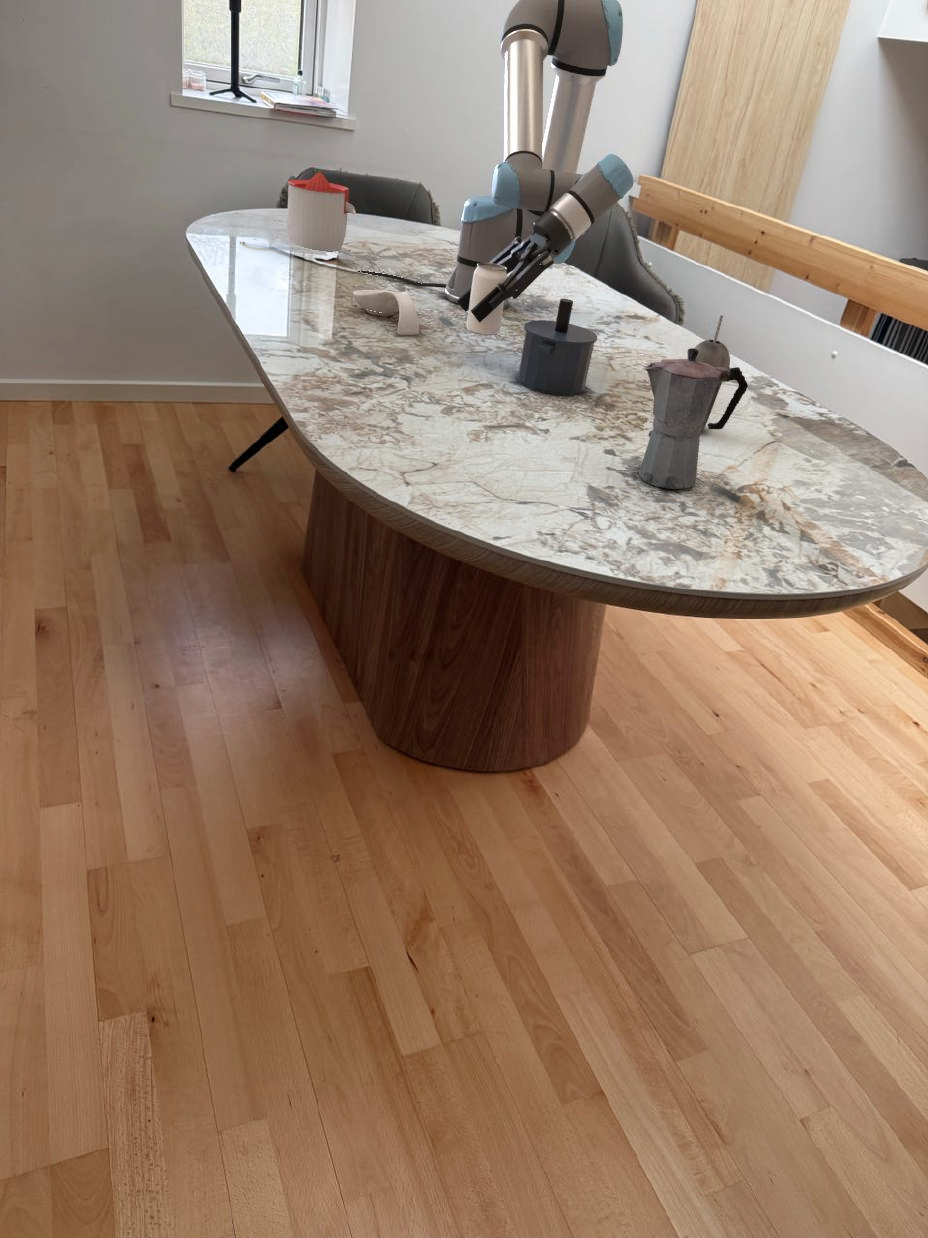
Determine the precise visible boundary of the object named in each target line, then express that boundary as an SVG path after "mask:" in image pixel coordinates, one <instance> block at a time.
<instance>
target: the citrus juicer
mask: <svg viewBox="0 0 928 1238" xmlns="http://www.w3.org/2000/svg"><path fill="white" fill-rule="evenodd" d="M287 184H288V191H287V192H288V193H287V219H286V221H287V233H288V239H289V242H290V241H292V242H293V243H294V244H296V245H299V246H301V247H304V248H308V249H312V250H319V251H327V252H333V251H339V250H341V251H342V248H343V245H344V242H345V238H346V234H347V233H346V232H347V227H348V213H350V214H353V215H356V213H357V212H356V209H355V206H354V205H353V204H351V203H350V202H349V200H350V195H349V194H350V188H348V187H347V186H344V185H340V184H337V183H333V182H329V181H328V180H327V178H326V176H325V175H324V174H323V173H322V172H320V171H319V172H317V173H316V174H314V175H313V176H312V178H310V179H290V180H287Z"/></svg>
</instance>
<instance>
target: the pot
mask: <svg viewBox="0 0 928 1238" xmlns="http://www.w3.org/2000/svg"><path fill="white" fill-rule="evenodd" d="M594 345H595V343H592V344H588V345H571V344H562V343H556V342H552V341H548V340H544V339H541V338H538V337H535V336H533V335H531V334H529V333H528V332H526V331H525V334H524V340H523V345H522V351H521V357H520V362H519V368H518V374H517V375H518V376H517V381H518V382H519V383H520V384H521V385H522V386H524V387H526V388H528V389H530V390H533V391H535V392H539V393H544V394H548V395H554V396H576V395H580V394H581V393H583V392H584V391H585V388H586V384H587V379H588V373H589V370H590V365H591V360H592V355H593V351H594V347H595V346H594Z"/></svg>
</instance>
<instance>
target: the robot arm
mask: <svg viewBox="0 0 928 1238" xmlns="http://www.w3.org/2000/svg"><path fill="white" fill-rule="evenodd" d="M623 33H624V16H623V9H622V6H621V3H620V2H619V1H618V0H518V1H517V2H516V3H515V4H514V6H513V7H512V8H511V10H510V11H509V13H508V15H507V17H506V19H505V21H504V23H503V27H502V30H501V35H500V56H501V58H502V60H503V61H504V63H505V64H504V65H505V66H504V127H503V128H504V131H503V132H504V133H503V134H504V136H503V138H504V139H503V142H504V143H503V162H499V163H497V164H496V166H495V168H494V171H493V177H492V183H491V184H492V185H491V195H478V196H472V197H470V198H468V199H467V200H466V201H465V203H464V205H463V210H462V215H461V218H460V222H461V223H460V224H461V225H460V231H459V232H460V234H459V240H458V247H457V255H456V263H455V266H454V268H453V271H452V272H451V274H450V276H449V279H448V282H447V283H437V282H420V281H416V282H415V280H412V279H410V278H406V277H403V278H401V277H402V276H400V277H397V276H398V275H396V276H393V275H394V274H391V275H388V274H389V273H386V274H382V273H383V272H380V273H375V272H376V271H373V272H369V271H370V270H367V271H361V272H363V273H368V274H372V275H371V276H375V275H378V276H377V277H381V276H383V278H386V279H387V278H388V279H393V280H398V281H401V282H404V283H406V284H409V285H413V286H418V287H423V288H441V289H442V288H443V289H445V290H444V297H445V299H447V300H448V301H450V302H452V303H455V304H458V305H459V306H460V307H461V308H462V310H463V311H464V313H465V312H468V311H469V303H470V296H471V289H472V281H473V275H474V271H475V270H476V268H477V264H478V263H493V264H498V265H502V266H504V267H506V268H507V270H506V273H507V276H508V278H507V279H506V280H505V281H504V283H498V286H499V288H500V289H501V290H500V289H499V288H498V287H496V288H494V289H493V290H492V291H491V292H490V293H489V294H488V295H487V296H486V297H485V298H484V299H483V300H481V301H480V302H479V303H478V304H477V305H476V306H475V307H474V308H473V309H472V310H471V312H472V314H473V315H474V316H475V318H476V319H477V320H478V322H481V321H482V320H483V319H484V318H485V317H487V316H488V315H489V314H490V313H491V312H492V311H493V310H494V309H495V308H496V307H497V306H498V305H500V304H501V303H502V302H503V301H504V306H503V309H504V308H506V307H507V306H508V302H509V301H508V300H509V299H511V298H512V299H513V300H516V299H517V298H519V297H520V296H521V294H522V293H523V292H524V291H525V290H526V289H527V288H528V287H529V286H530V285H532V284H533V282H535V281H536V279H538V278H539V276H541V275H542V273H543V272H545V271H546V270H547V269H548V268H550V267H552V266H553V265H562V264H564V263H565V262H566V261H567V259H569V258H570V256H571V254H572V252H573V249H574V247H575V245H576V241H577V239H578V238H579V237H581V236H584V235H585V233H586V231H587V230H588V229H589V228H590V227H592V225H593V224H595V223H596V222H597V221H598V220H599V219H600V218H601V217H602V216H603V215H605V213H607V212H608V211H609V210H610V209H611V208H612V207H613V206H615V205H616V204H617V203H618V202H619V201H620V200H623V199H624V197H625V195H626V194H627V193H628V192H629V191H631V190H632V188H633V186H634V183H635V180H634V175H633V174H632V171H631V170H630V168H629V166H628V165H627V164H626V162H625V161H624V160H623V159H622V158H621V157H619V156H618V155H617V154H614V153H609V154H607V155H605V156H604V157H603V158H602V159H601V160H600V161H598V162H597V163H596V164H595V165H594V166H593V167H592V168H591V169H590V170H588V171H586V172H585V173H583V174H580V173H577V172H578V166H579V161H580V158H581V153H582V148H583V145H584V140H585V135H586V130H587V126H588V123H589V122H588V121H589V116H590V113H591V108H592V104H593V99H594V95H595V91H596V86H597V83H598V82H600V81H601V80H602V79H604V78H605V77H606V75H607V70H608V67H612V66H615V65H616V64H617V63H618V61H619V57H620V54H621V49H622V43H623ZM547 56H551V57H552V59H551V67H552V69H553V70H554V71H553V72H555V82H554V86H553V92H552V97H551V102H550V107H549V111H548V117H547V122H546V127H545V132H544V61H545V60H546V58H547ZM543 135H544V136H543ZM358 272H360V271H358ZM363 273H362V274H363ZM368 274H367V275H368ZM405 278H406V279H405ZM418 282H420V283H418ZM421 283H422V284H421Z"/></svg>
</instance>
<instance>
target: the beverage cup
mask: <svg viewBox="0 0 928 1238" xmlns="http://www.w3.org/2000/svg"><path fill="white" fill-rule="evenodd" d="M723 318H724V315H722V314H720V315H719V319H718V322H717V326H716V329H715V332H714V337H713V339H705V340H703V341H701V342H700V343H698V344H696V345H695V347H694V349H696V350H698V351H699V352H698V355H697V357H696V361H699V362H703V363H706V364H709V365H711V366H713V367H715V368H717V367H724V368H728V369H729V368H731V367H730V366H731V354H730V352H729V349H728V347H727V346H726V345H725V344H724V343H723V342H721V341H720V340H718V338H719V337H718V336H719V334H720V330H721V326H722V322H723ZM723 382H724V381H720V382H719V383H718V385H717V388H716V391H715V393H714V396H713V399H712V402H711V405H710V408H709V410H708V414H707V416H706V419H705V421H704V423H703V427H702V431H701V433H703V432H704V429H705V428H706V425H707V424H708V421H709V418H710V415H711V412H712V410H713V407H714V405H715V403H716V400H717V397H718V395H719V392H720V389H721V387H722V384H723Z"/></svg>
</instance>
